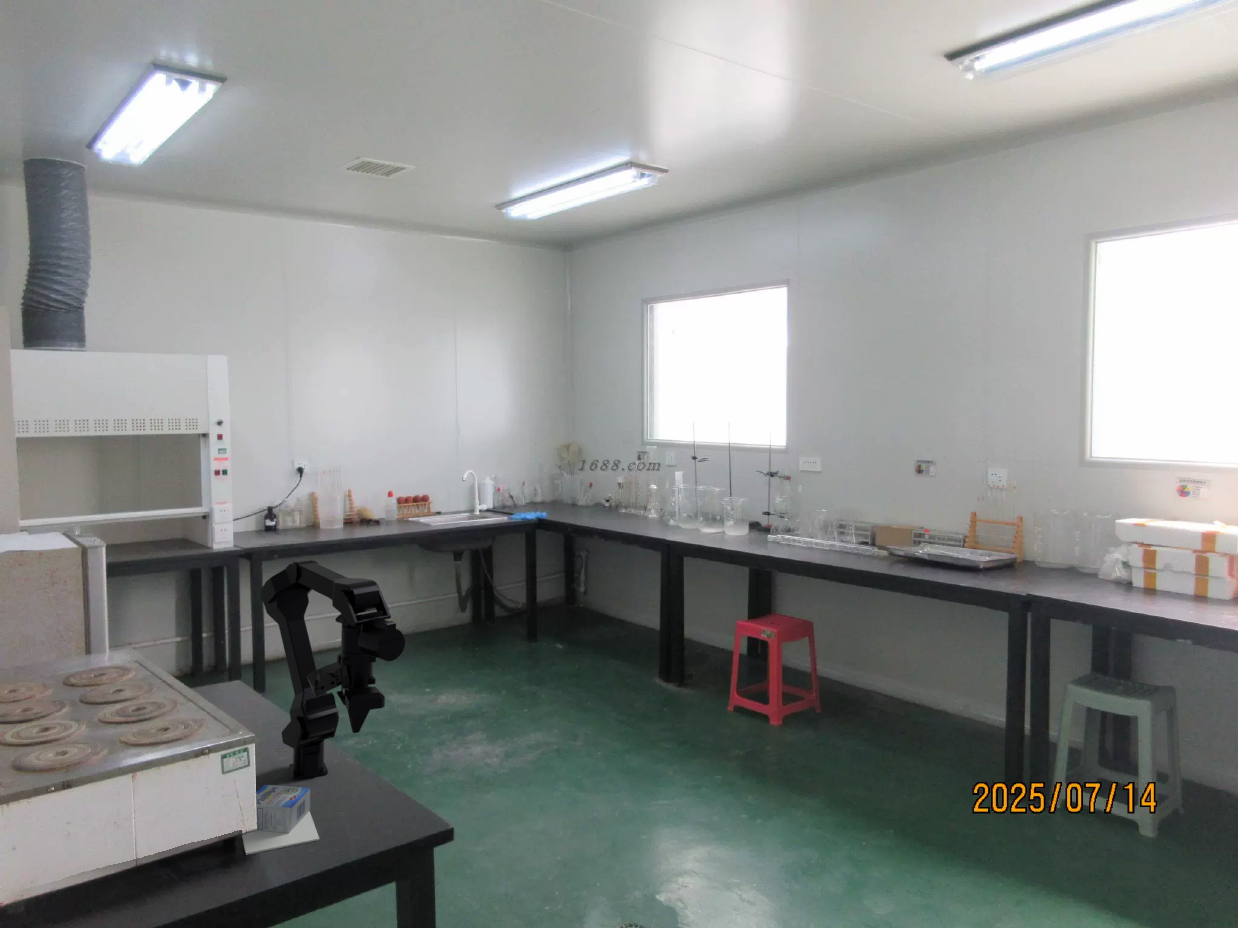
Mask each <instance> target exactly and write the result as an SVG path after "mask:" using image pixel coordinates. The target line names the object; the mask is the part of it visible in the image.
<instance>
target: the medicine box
mask: <svg viewBox="0 0 1238 928" xmlns="http://www.w3.org/2000/svg"><path fill="white" fill-rule="evenodd" d="M256 792H257V823H258V829H257V831H269V832H284V833H289V832H290V831H291V830H292V829H293V828H294V827H295V826H296V825H297V824H298V823H299V822H300V821H301V819H302V818H303V817H304V816H305V815H306V814H307V813H308V812H309V811H310V810H311V809H310V808H311V789H310V788H309V787H304V786H303V787H302V786H300V787H299V786H288V785H285V786H284V785H275V784H263V785H262V786H261V787H260V788H259V789H257V791H256Z"/></svg>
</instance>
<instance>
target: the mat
mask: <svg viewBox="0 0 1238 928" xmlns="http://www.w3.org/2000/svg"><path fill="white" fill-rule="evenodd" d="M241 837H242V843H243V848H244V852H245V853H246V854H245V856H248V855H253V854H258V853H262V852H266V851H267V852H268V851H271V850H278V849H283V848H287V847H293V846H297V845H303V844H306V843H307V844H308V843H312V842H317V841H320V836H319V834H318V831H317V828H316V826H315V822H314V819H313V817H312V814H311V812H310V811H309V812H308V813H307V814H306V815H305V816H304V817H303V818H302V819H301V821H300V822H299V823H298V824H297V825H296V826H295V827H294V828H293V829H292V830H291V831H290V832H289V833H284V832H269V831H256V832H251V833H247V834H246V835H242V834H241Z"/></svg>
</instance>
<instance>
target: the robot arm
mask: <svg viewBox="0 0 1238 928" xmlns="http://www.w3.org/2000/svg"><path fill="white" fill-rule="evenodd" d="M312 591H314V592H317V593H318V594H320V595H322V596H324V597H326V598H328V599H330V600H331V605H332V606H331V607H333V608H334V609H335V610H336V611H338V612H339V613H340V614H339V615H337V616H336V618H335V622H336V623H338V624H341V631H340V632H341V633H340V634H341V643H340V644H341V646H340V652H338V654H337V655H336V662H333V663H330V664H327V665H325V666H322V667H320V668H318V669H317V665H316V662H315V661H316V660H315V657H314V653H313V649H312V645H311V640H310V637H309V636H310V635H309V632H308V628H307V623H306V619H305V615H306V611H307V609H308V606H309V603H310V601H309V599H310V598H309V594H310V593H311V592H312ZM259 593H260V599H261V602H262V604H263V606H264V609H265V612H266V614H267V615H268V616H269V617H270V618H271V619H272V620H273V621H274V622H275V623H276V624H277V625H278V627H279V632H280V633H279V634H280V638H281V643H282V646H283V651H284V654H285V658H286V662H287V667H288V671H289V675H290V681H291V684H292V687H293V692H294V697H293V700H292V703H291V706H290V709H289V716H290V721H289V722H288V724H286V726H285V727H284V728H283V730H282V731H281V737H282V743H283V744H284V745H286V746H288V747H289V748H292V751H293V752H292V763H290V764H289V765H288V769H289V772H290V774H291V777H292V778H291V779H292V780H300V779H305V778H311V777H317V776H322V775H328V774H329V770H328V768H327V765H326V763H325V740H329V739H333V738H335V737H336V736H335V735H336V732H337V728H338V724H339V721H340V715H339V709H338V707H337V704H336V698H335V697H336V696H335V695H334V693H333V692H330V691H331V690H333V689H335V688H338V687H340V690H339V691H336V694H337V696H338V698H339V699H340V701H341V703H342V704H343V705H344V706H345V708H346V709H347V714H348V718H349V724H350V727H351V728H350V729H351V732H352V734H358V733H360V731H361V729H362V727H363V725H364V723H365V722H366V719H367V717H368V715H369V713H370V711H372V710H379V709H383V708H384V707H385V701H386V697H385V695H384V693H383V691H381V689H379V688H378V687H377V686H372V685H376V677H375V676H374V663H376V662H377V659H379V660H383V661H386V662H393V661H395V660H397V659H398V658H399V657H400V656H401V655H402V653H403V651H404V650H405V647H406V639H405V636H404V634H403V632H402V631H401V630H400V629H397V623H396V621H393V620H389V619H391V618H392V615H391V613H390V608H389V606H388V604H387V602H386V600H385V598H384V594H383V593H382V590H381V588H380V587H379V584H378V583H377V581H375V580H374V579H368V578H359V577H357V578H356V577H352V578H351V577H347V576H344V575H343V574H340V573H338V572H336V571H334V570H331V569H329V568H327V567H325V566H323V565H321V564H319V563H318V562H317V561H316V560H312V559H306V560H297V561H292V562H291V563H289V564H288V565H287V566H286V567H285V568H284V569H283V570H281V571H279V572H277V573H275V574H274V575H272V576H271V577H269V578H268V579H267V580H266V581H265V583H264V585H263V586H261V589H260V592H259ZM370 685H371V686H370Z"/></svg>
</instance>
